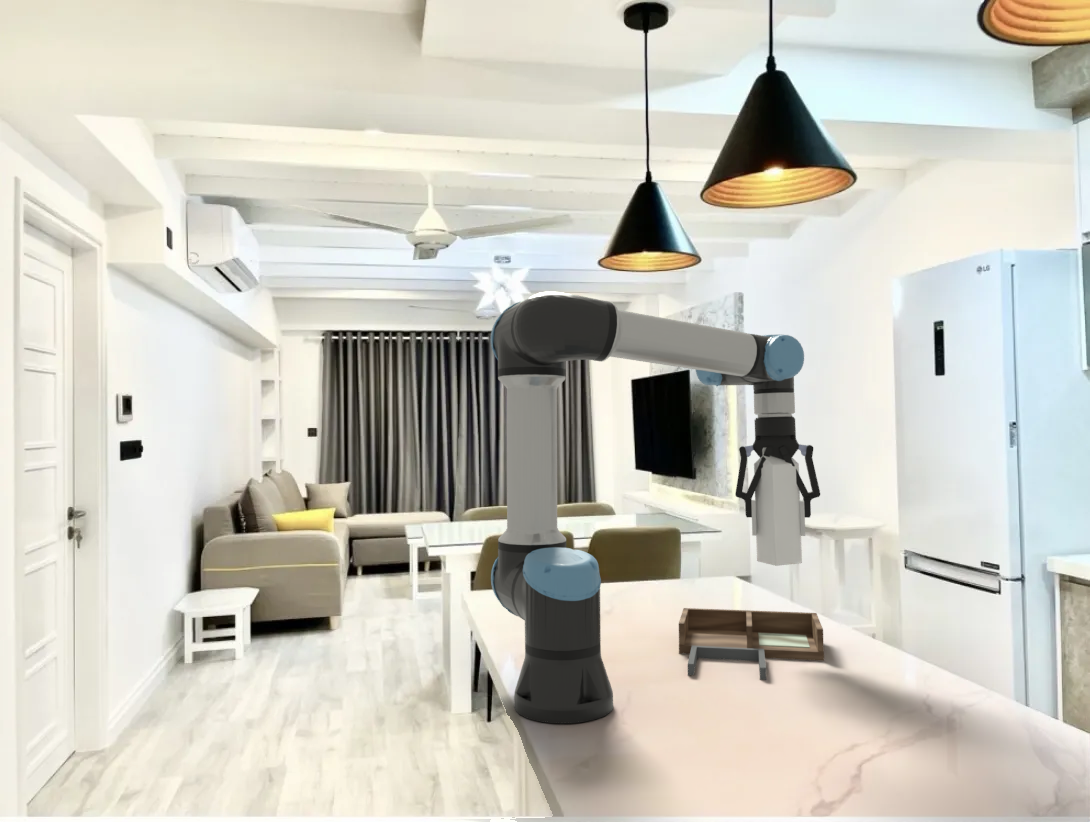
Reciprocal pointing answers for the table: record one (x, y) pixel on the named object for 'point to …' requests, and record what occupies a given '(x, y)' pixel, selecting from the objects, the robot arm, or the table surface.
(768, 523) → the milk
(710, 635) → the box
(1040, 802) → the table surface
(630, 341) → the robot arm
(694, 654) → the bracket
